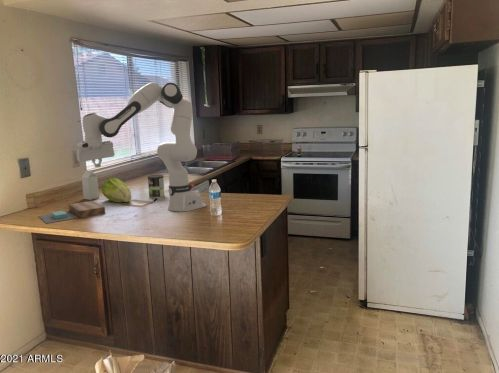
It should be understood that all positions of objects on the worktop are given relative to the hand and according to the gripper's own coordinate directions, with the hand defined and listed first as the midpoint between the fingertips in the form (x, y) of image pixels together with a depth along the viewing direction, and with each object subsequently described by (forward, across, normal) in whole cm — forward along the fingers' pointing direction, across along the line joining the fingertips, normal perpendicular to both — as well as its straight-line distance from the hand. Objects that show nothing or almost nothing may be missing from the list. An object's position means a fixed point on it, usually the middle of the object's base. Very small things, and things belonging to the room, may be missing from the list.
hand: (97, 167), depth 240 cm
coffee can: (+30, -41, -18) cm, 54 cm away
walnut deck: (+26, +8, -7) cm, 28 cm away
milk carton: (+28, -6, -45) cm, 53 cm away
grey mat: (+25, +24, -7) cm, 36 cm away
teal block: (+23, +23, -7) cm, 33 cm away
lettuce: (+28, -17, -23) cm, 40 cm away
